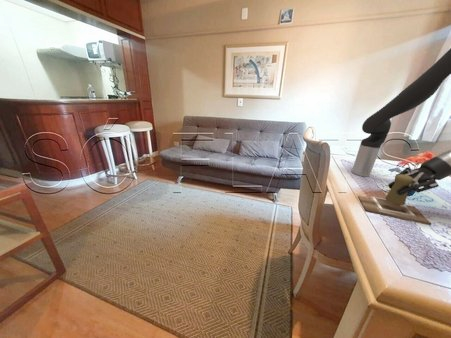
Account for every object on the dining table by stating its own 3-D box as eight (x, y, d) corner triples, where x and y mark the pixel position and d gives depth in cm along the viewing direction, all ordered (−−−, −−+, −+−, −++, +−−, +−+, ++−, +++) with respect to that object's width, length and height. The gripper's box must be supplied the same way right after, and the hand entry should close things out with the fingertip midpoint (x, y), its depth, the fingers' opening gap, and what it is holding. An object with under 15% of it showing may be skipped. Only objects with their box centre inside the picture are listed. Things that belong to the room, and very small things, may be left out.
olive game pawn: (408, 206, 70) (421, 179, 66) (390, 203, 71) (401, 177, 67) (398, 198, 76) (409, 173, 72) (381, 196, 77) (391, 171, 73)
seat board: (357, 197, 84) (359, 193, 83) (413, 208, 77) (415, 204, 77) (365, 211, 73) (367, 207, 73) (430, 225, 67) (433, 220, 66)
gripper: (423, 151, 72) (377, 176, 78) (458, 163, 59) (400, 191, 65) (433, 165, 73) (387, 188, 79) (469, 180, 60) (411, 206, 66)
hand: (393, 190), depth 72 cm, fingers closed on olive game pawn, 4 cm apart
